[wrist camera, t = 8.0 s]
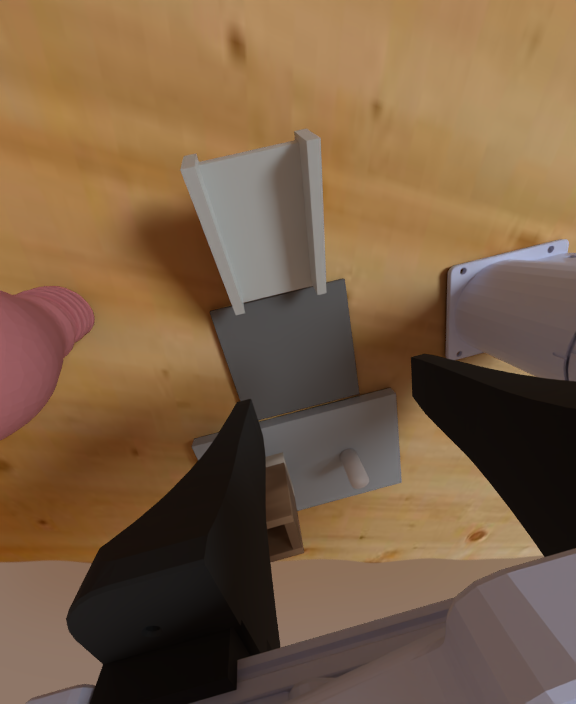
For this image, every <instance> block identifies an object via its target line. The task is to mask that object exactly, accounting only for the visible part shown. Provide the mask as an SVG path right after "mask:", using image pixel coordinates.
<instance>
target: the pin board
mask: <svg viewBox="0 0 576 704" xmlns="http://www.w3.org/2000/svg"><path fill="white" fill-rule="evenodd" d="M259 424H260V427H261V431H262V434H263V439H264V446H265V455H266V457H267V456H271V455H274V454H278V453H282V452H283V455H284V459H285V462H286V465H287V468H288V472H289V475H290V478H291V481H292V485H293V490H294V495H295V501H296V507H297V511H299V510H302V509H306V508H310V507H313V506H317V505H321V504H324V503H328V502H332V501H335V500H339V499H343V498H346V497H350V496H354V495H357V494H361V493H365V492H368V491H372V490H376V489H379V488H383V487H387V486H390V485H394V484H398V483H401V466H400V450H399V434H398V418H397V402H396V393H395V392H394V391H393V390H392V389H391V388H387V389H384V390H380V391H376V392H372V393H368V394H364V395H361V396H357V397H353V398H349V399H345V400H341V401H338V402H334V403H330V404H326V405H322V406H318V407H314V408H311V409H307V410H303V411H299V412H295V413H291V414H288V415H284V416H280V417H276V418H272V419H268V420H265V421H261V422H259ZM217 435H218V433H215V434H211V435H207V436H203V437H199V438H196V439H194V441H193V444H192V449H193V451H194V453H195V455H196V457H197V459H198V460H199V459H200V458H201V457H202V456H203V454H204V453H205V452H206V450H207V449H208V448H209V446H210V445H211V443H212V442H213V441H214V439H215V438H216V436H217Z"/></svg>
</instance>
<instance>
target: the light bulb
mask: <svg viewBox="0 0 576 704" xmlns="http://www.w3.org/2000/svg"><path fill="white" fill-rule="evenodd" d="M93 325H94V314H93V311H92V309H91V307H90V306H89V304H88V303H87V302H86V301H85V300H84V299H83V298H82V297H81V296H80V295H78V294H77V293H75V292H73V291H71V290H69V289H66V288H63V287H58V286H44V287H37V288H34V289H31V290H27V291H23V292H21V293H18V294H17V295H11V294H8V293H6V292H3V291H0V440H2V439H4V438H6V437H7V436H9V435H11V434H12V433H14V432H15V431H17V430H18V429H20V428H21V427H22V426H24V425H25V424H27V423H28V422H29V421H30V420H31V419H32V418H33V417H34V416H36V415H37V414H38V413H39V412H40V411H41V409H42V408H43V407H44V406H45V404H46V403H47V402H48V400H49V399H50V397H51V395H52V394H53V392H54V390H55V387H56V384H57V381H58V378H59V375H60V371H61V368H62V364H63V358H64V357H65V356H67V355H68V354H69V352H70V351H71V350H72V348H73V345H74V343H75V342H77V341H79V340H80V339H81V338H82V337H83V336H84V335H85V334H87V333H88V332H89V331H90V330H91V329H92V327H93Z"/></svg>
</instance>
